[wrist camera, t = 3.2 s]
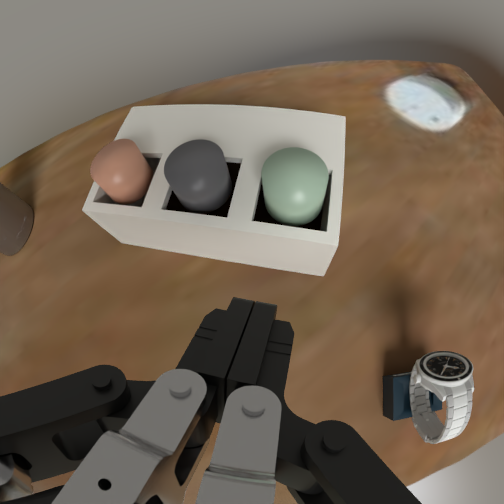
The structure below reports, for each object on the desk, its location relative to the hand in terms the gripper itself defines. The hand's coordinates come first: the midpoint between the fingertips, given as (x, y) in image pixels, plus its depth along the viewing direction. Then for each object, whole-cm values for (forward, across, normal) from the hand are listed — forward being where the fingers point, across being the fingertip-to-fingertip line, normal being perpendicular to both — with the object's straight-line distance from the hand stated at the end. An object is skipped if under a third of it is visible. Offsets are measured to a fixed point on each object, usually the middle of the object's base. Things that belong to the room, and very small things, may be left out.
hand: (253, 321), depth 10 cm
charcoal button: (+17, +8, 0) cm, 19 cm away
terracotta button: (+17, +16, 0) cm, 23 cm away
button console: (+25, +8, +4) cm, 26 cm away
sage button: (+17, 0, 0) cm, 17 cm away
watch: (+12, -15, +17) cm, 26 cm away
